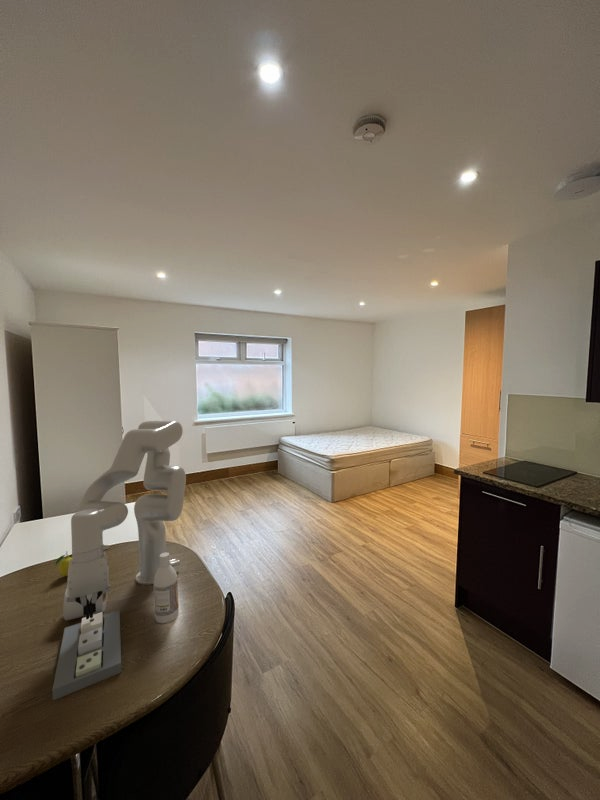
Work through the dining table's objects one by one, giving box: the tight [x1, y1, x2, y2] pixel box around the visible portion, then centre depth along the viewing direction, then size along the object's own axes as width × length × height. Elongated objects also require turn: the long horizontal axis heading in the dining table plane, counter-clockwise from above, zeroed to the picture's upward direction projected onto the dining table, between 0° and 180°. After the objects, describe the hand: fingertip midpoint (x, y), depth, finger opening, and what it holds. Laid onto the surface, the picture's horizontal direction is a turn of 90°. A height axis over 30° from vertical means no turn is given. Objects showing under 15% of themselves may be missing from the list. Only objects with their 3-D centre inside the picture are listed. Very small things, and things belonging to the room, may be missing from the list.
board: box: [51, 609, 122, 701], centre depth 88 cm, size 14×23×2 cm, turn 30°
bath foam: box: [153, 551, 180, 624], centre depth 101 cm, size 7×7×20 cm
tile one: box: [80, 612, 104, 634], centre depth 95 cm, size 5×5×3 cm
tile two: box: [78, 627, 103, 656], centre depth 88 cm, size 5×5×3 cm
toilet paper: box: [62, 588, 108, 622], centre depth 104 cm, size 10×10×10 cm
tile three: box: [76, 649, 103, 678], centre depth 82 cm, size 5×5×3 cm
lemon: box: [55, 552, 72, 577], centre depth 125 cm, size 7×6×10 cm
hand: (89, 615), depth 94 cm, fingers closed
